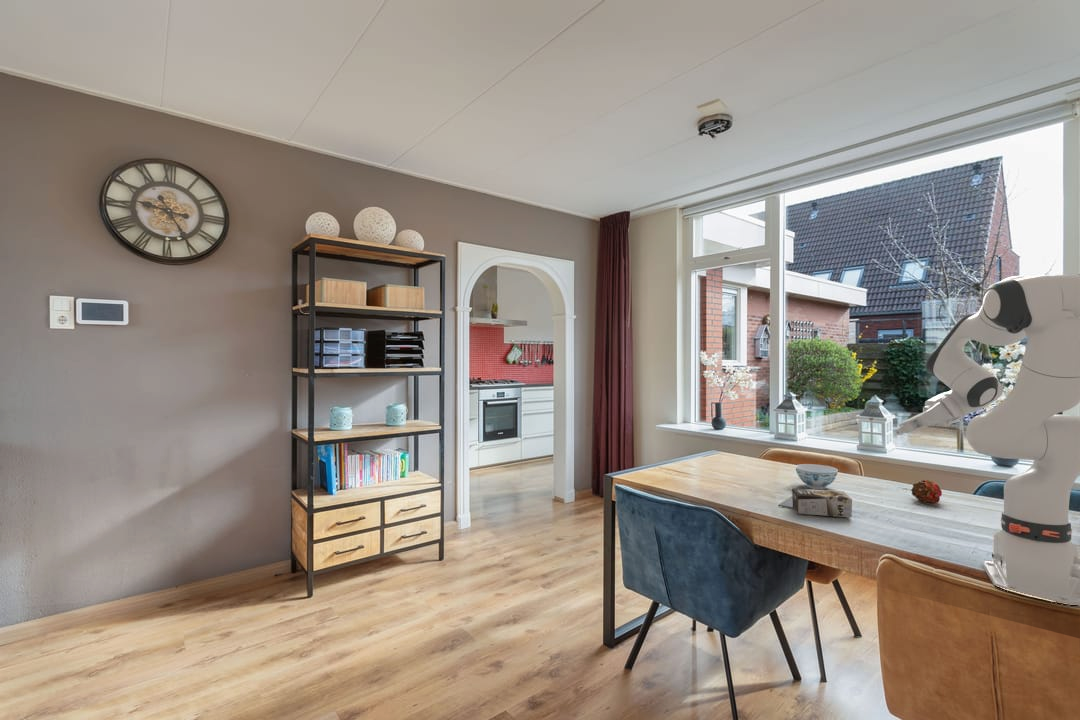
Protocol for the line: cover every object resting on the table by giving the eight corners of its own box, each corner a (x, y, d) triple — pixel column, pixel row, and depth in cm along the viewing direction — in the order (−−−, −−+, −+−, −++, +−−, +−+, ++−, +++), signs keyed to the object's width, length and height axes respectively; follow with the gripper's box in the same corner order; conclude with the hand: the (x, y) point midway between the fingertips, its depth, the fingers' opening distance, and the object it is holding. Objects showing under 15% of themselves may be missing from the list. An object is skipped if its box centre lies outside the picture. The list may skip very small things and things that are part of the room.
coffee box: (852, 498, 164) (797, 495, 168) (852, 518, 164) (797, 514, 168) (843, 490, 173) (791, 487, 177) (843, 509, 173) (791, 505, 177)
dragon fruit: (923, 510, 178) (924, 507, 188) (948, 498, 175) (948, 496, 184) (906, 488, 182) (907, 486, 192) (930, 476, 179) (930, 475, 188)
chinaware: (825, 482, 212) (824, 464, 212) (845, 492, 197) (845, 472, 197) (788, 482, 212) (788, 464, 212) (806, 492, 197) (806, 472, 197)
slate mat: (832, 516, 168) (832, 514, 168) (778, 506, 179) (778, 504, 179) (843, 507, 178) (843, 505, 178) (791, 498, 189) (791, 496, 189)
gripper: (921, 407, 165) (880, 428, 166) (948, 395, 146) (902, 418, 148) (934, 424, 162) (893, 445, 164) (964, 414, 143) (917, 437, 145)
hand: (897, 432), depth 156 cm, fingers closed
